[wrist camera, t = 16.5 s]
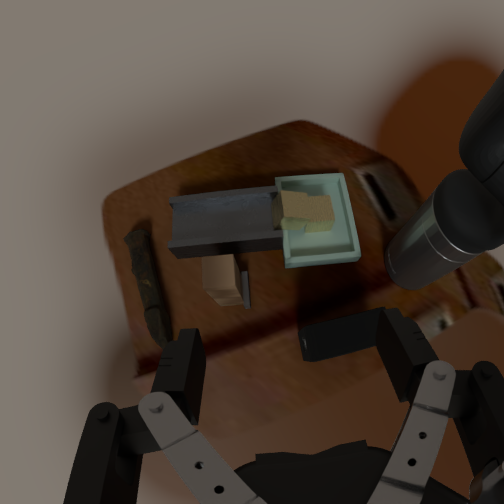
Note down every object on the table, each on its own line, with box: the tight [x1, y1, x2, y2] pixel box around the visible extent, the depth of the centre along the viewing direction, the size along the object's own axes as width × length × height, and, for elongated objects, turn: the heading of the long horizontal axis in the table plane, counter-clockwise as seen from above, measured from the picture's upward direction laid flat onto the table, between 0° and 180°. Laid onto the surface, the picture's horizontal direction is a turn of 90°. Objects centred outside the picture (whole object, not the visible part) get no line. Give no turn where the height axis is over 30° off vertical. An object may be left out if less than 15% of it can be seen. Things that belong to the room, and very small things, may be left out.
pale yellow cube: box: [271, 190, 312, 230], centre depth 44 cm, size 4×4×4 cm
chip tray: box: [275, 173, 361, 268], centre depth 47 cm, size 11×14×2 cm
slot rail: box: [168, 186, 284, 259], centre depth 46 cm, size 16×8×5 cm, turn 94°
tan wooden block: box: [202, 254, 251, 309], centre depth 40 cm, size 4×5×12 cm
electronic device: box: [298, 307, 386, 362], centre depth 37 cm, size 4×10×10 cm, turn 100°
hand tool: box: [124, 229, 172, 349], centre depth 44 cm, size 19×4×5 cm, turn 18°
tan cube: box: [304, 195, 335, 233], centre depth 46 cm, size 4×4×4 cm
